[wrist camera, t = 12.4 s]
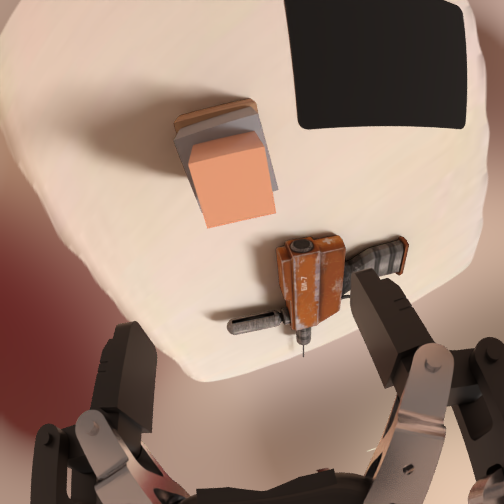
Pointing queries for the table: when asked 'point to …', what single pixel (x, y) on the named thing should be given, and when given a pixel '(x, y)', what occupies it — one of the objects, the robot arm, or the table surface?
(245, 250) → the table surface
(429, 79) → the tablet
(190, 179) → the gray middle block
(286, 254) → the tool
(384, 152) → the table surface
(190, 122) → the walnut base block
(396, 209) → the table surface
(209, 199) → the terracotta block
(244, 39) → the table surface
